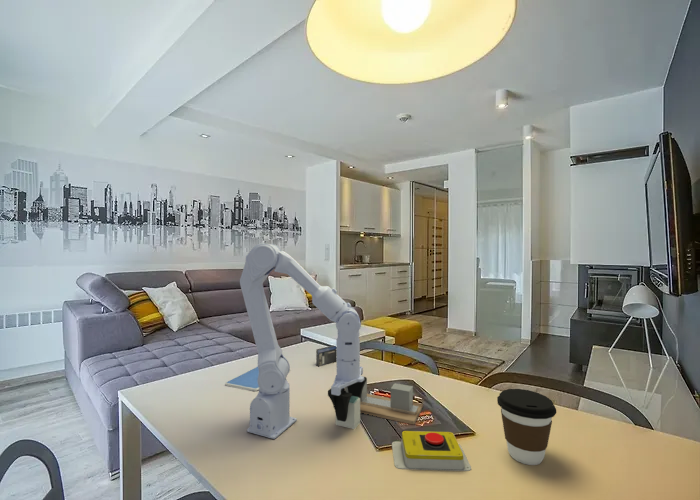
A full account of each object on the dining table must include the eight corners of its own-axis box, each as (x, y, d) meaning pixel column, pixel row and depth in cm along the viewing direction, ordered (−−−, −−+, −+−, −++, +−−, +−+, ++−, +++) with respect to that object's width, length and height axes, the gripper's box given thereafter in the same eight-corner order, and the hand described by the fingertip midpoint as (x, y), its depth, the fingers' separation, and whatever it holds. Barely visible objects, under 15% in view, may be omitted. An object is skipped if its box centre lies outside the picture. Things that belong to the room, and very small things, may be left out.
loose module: (354, 429, 82) (354, 402, 82) (335, 424, 84) (335, 399, 84) (360, 422, 85) (360, 396, 85) (341, 418, 87) (341, 393, 87)
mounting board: (414, 424, 84) (414, 421, 84) (333, 407, 93) (333, 404, 93) (422, 407, 93) (422, 404, 93) (348, 393, 102) (348, 390, 102)
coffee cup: (565, 476, 65) (566, 413, 65) (504, 469, 67) (504, 408, 67) (543, 443, 76) (544, 389, 76) (491, 438, 78) (491, 386, 77)
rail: (415, 415, 87) (415, 412, 87) (340, 399, 95) (340, 397, 95) (418, 409, 90) (418, 406, 90) (345, 394, 99) (345, 392, 99)
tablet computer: (261, 367, 125) (261, 363, 125) (291, 371, 120) (291, 368, 120) (223, 387, 107) (223, 382, 107) (256, 393, 103) (256, 389, 103)
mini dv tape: (318, 367, 124) (318, 350, 124) (316, 365, 125) (316, 349, 125) (336, 362, 130) (336, 346, 129) (333, 361, 131) (334, 345, 131)
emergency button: (472, 451, 66) (394, 449, 67) (472, 473, 66) (394, 471, 67) (459, 426, 76) (391, 424, 76) (459, 446, 76) (391, 444, 76)
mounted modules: (409, 411, 87) (409, 391, 87) (345, 398, 95) (345, 380, 95) (412, 405, 91) (412, 386, 91) (350, 393, 98) (350, 375, 98)
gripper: (351, 369, 76) (351, 430, 76) (373, 351, 89) (373, 403, 89) (322, 365, 79) (323, 424, 79) (348, 348, 92) (349, 398, 92)
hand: (348, 413), depth 84 cm, fingers open, 7 cm apart
